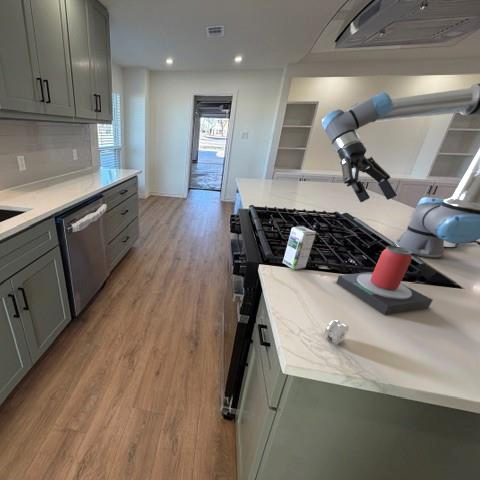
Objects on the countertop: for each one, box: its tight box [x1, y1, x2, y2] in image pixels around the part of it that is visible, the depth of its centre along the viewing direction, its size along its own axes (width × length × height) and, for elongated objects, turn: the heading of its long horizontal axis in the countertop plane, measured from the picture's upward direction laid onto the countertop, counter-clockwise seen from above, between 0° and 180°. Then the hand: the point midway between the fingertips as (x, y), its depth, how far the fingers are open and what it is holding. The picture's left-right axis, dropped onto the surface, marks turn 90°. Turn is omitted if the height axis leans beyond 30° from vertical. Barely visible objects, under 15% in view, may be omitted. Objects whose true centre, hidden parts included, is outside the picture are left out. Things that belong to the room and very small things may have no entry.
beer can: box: [371, 245, 413, 290], centre depth 75 cm, size 7×7×12 cm
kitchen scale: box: [336, 271, 434, 316], centre depth 78 cm, size 16×16×4 cm
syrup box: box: [282, 226, 317, 271], centre depth 92 cm, size 6×6×14 cm
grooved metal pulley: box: [323, 319, 350, 345], centre depth 60 cm, size 5×3×5 cm, turn 122°
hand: (379, 198), depth 85 cm, fingers open, 13 cm apart
